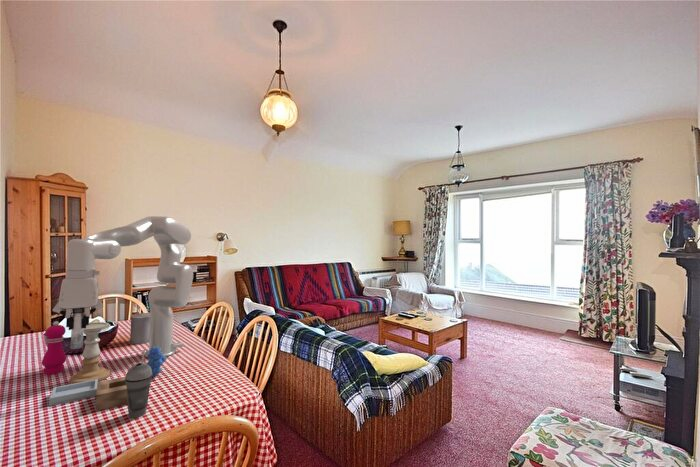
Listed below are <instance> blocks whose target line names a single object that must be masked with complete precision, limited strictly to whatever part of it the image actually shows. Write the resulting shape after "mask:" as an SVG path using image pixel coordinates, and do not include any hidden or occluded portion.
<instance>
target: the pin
mask: <svg viewBox="0 0 700 467" xmlns="http://www.w3.org/2000/svg"><path fill="white" fill-rule="evenodd" d="M71 315H72V329H71V330H70V333H71V334H70V349H71V350H76V349H82V348H84V347H83V346H84V332H83V331H84V328H83V322H84V316H85V308H76V309H72V312H71Z"/></svg>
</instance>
